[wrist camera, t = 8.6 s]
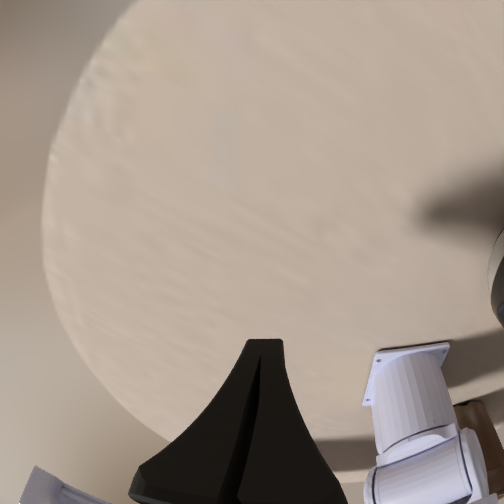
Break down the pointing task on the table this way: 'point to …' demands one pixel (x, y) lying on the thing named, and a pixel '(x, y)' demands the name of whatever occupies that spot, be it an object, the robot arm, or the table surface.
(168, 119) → the table surface
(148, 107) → the table surface
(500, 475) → the plant pot
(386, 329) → the table surface
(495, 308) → the dark grey egg shape
